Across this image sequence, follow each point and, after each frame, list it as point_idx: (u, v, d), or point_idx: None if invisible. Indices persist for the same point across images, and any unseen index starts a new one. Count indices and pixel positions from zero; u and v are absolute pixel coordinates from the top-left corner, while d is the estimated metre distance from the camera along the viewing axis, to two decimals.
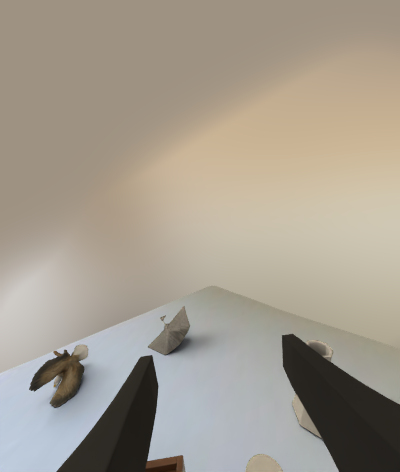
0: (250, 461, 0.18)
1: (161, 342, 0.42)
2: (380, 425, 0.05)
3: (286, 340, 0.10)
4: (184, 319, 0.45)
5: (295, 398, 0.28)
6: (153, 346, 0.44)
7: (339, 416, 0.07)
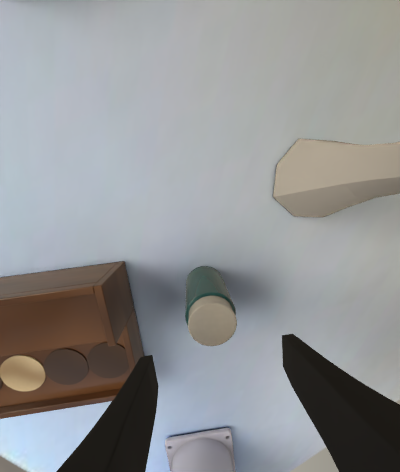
0: (197, 311, 0.13)
1: None
2: (380, 425, 0.05)
3: (286, 340, 0.10)
4: None
5: (287, 167, 0.16)
6: None
7: (339, 416, 0.07)
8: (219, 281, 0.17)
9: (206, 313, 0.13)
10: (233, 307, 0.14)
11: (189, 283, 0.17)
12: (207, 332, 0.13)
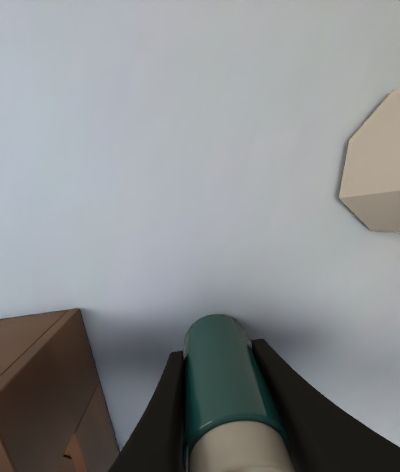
0: None
1: None
2: (322, 434, 0.05)
3: (254, 345, 0.10)
4: None
5: (379, 142, 0.09)
6: None
7: (293, 424, 0.07)
8: (247, 358, 0.09)
9: None
10: (287, 439, 0.07)
11: (190, 356, 0.09)
12: None
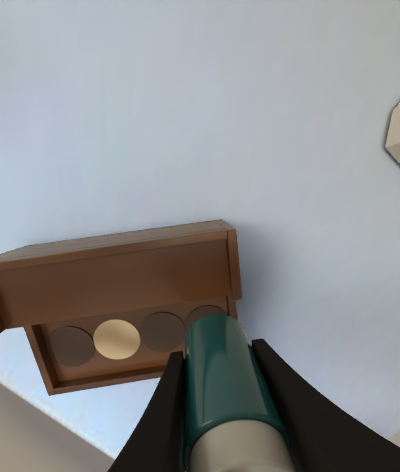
0: None
1: None
2: (322, 435, 0.05)
3: (254, 345, 0.10)
4: None
5: None
6: None
7: (292, 424, 0.07)
8: (247, 357, 0.09)
9: None
10: (287, 438, 0.07)
11: (190, 355, 0.09)
12: None
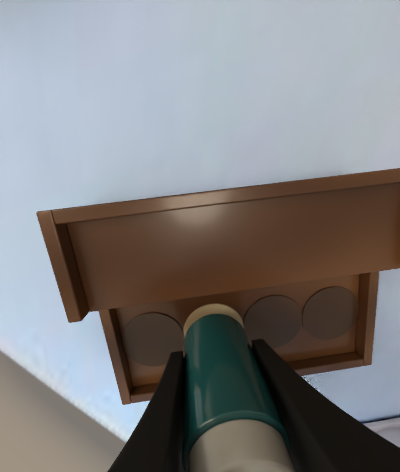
0: None
1: None
2: (322, 435, 0.05)
3: (254, 345, 0.10)
4: None
5: None
6: None
7: (293, 424, 0.07)
8: (247, 357, 0.09)
9: None
10: (286, 438, 0.07)
11: (190, 355, 0.09)
12: None
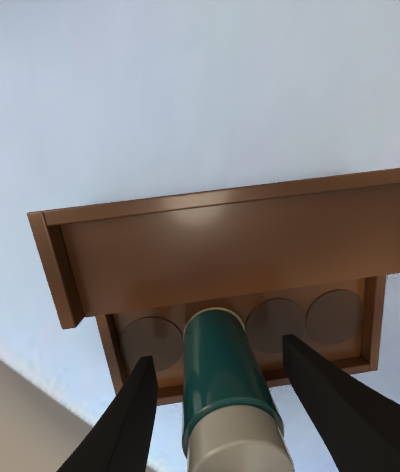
0: (208, 460, 0.06)
1: None
2: (380, 425, 0.05)
3: (286, 340, 0.10)
4: None
5: None
6: None
7: (339, 416, 0.07)
8: (244, 349, 0.09)
9: (229, 463, 0.06)
10: (280, 423, 0.07)
11: (189, 348, 0.10)
12: None
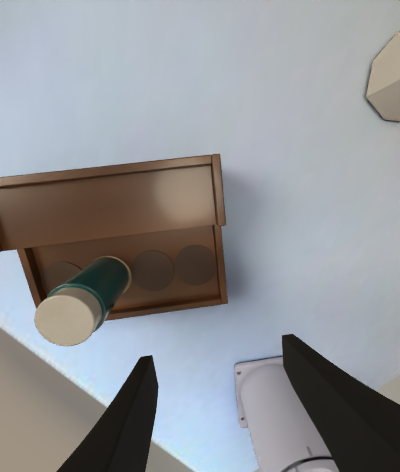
0: (42, 305, 0.11)
1: None
2: (380, 425, 0.05)
3: (286, 340, 0.10)
4: None
5: (390, 56, 0.16)
6: None
7: (339, 416, 0.07)
8: (104, 272, 0.15)
9: (54, 307, 0.11)
10: (101, 301, 0.12)
11: None
12: (59, 330, 0.11)
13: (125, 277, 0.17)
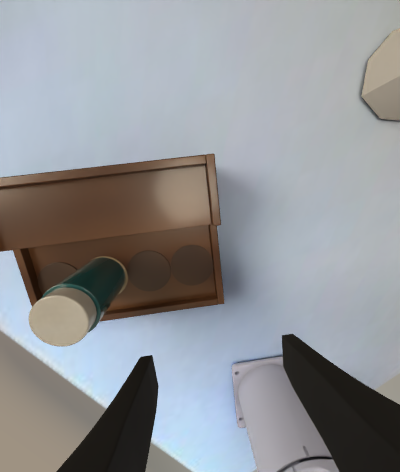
0: (36, 305, 0.11)
1: None
2: (379, 424, 0.05)
3: (286, 340, 0.10)
4: None
5: (385, 55, 0.16)
6: None
7: (339, 416, 0.07)
8: (99, 272, 0.15)
9: (48, 308, 0.11)
10: (96, 301, 0.12)
11: None
12: (53, 330, 0.11)
13: (121, 277, 0.17)
